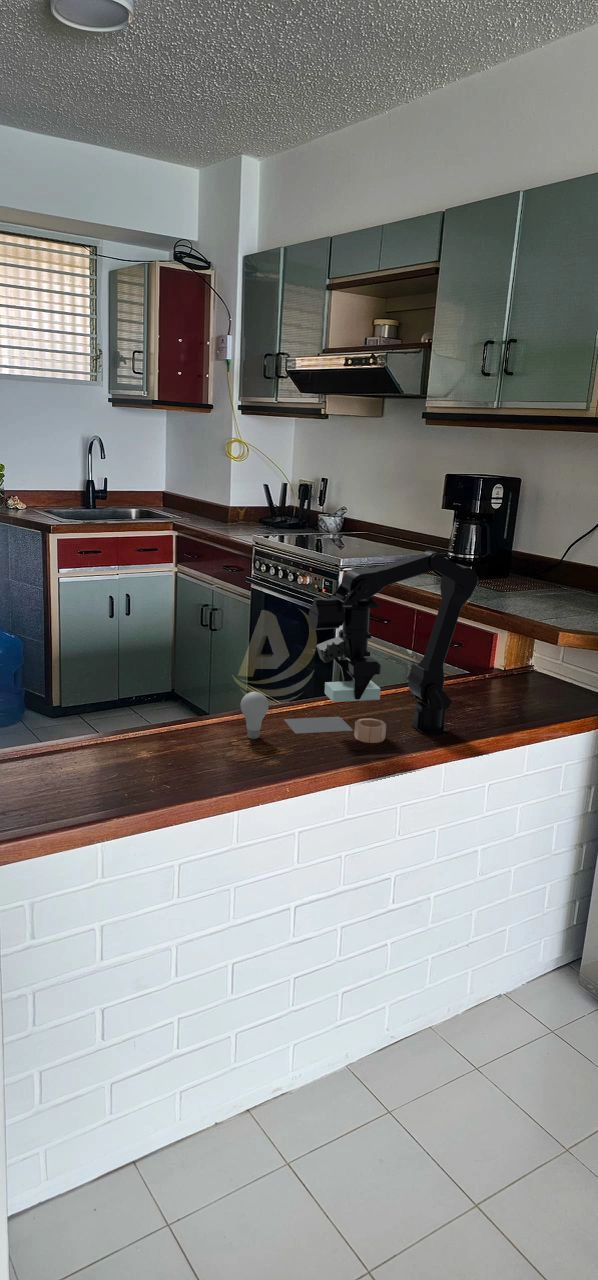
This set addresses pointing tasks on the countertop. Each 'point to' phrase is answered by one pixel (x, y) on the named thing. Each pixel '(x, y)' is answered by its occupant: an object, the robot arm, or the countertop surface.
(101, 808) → the countertop surface
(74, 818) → the countertop surface
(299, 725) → the mat
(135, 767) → the countertop surface
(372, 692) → the pale teal block
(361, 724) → the nut
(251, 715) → the lightbulb
